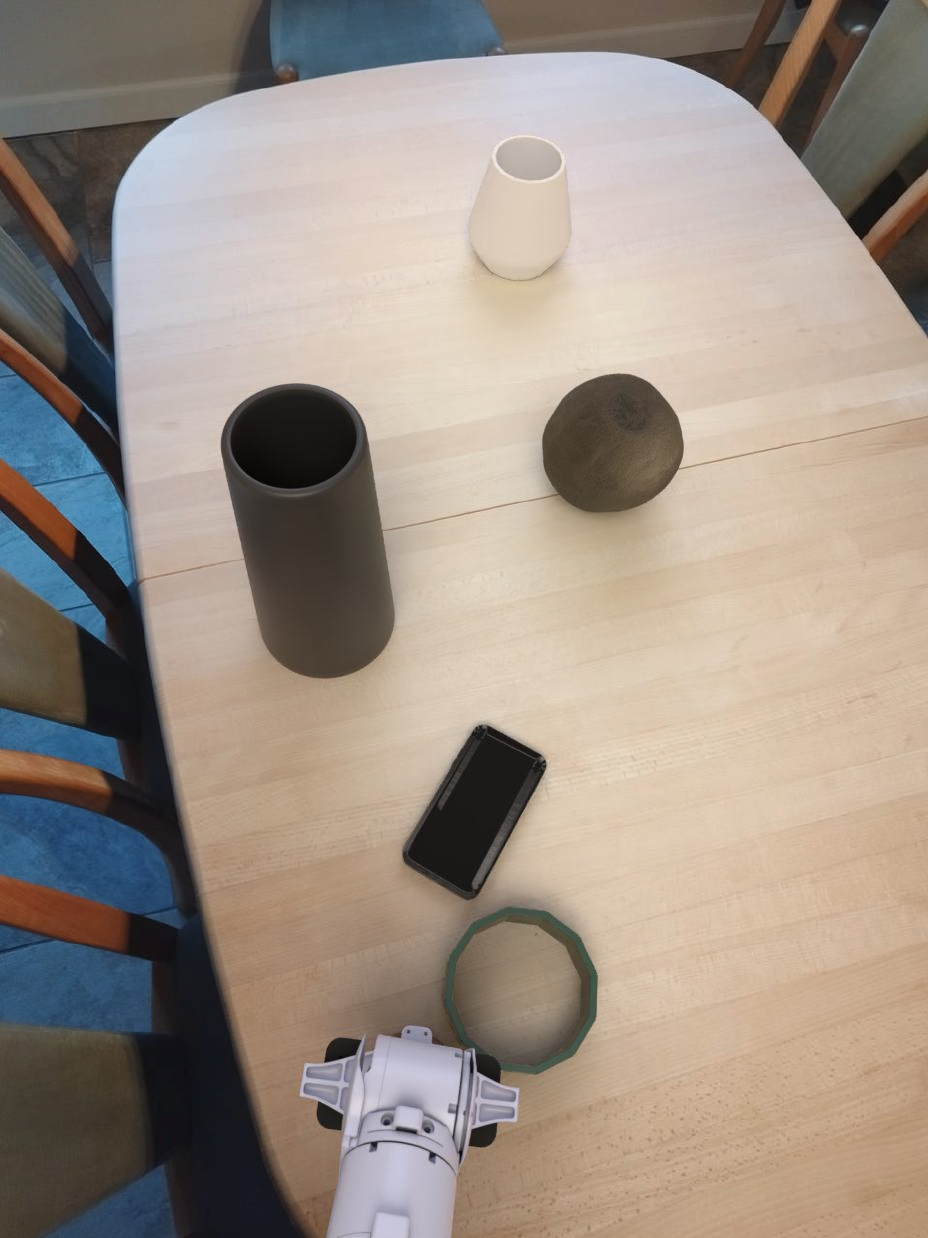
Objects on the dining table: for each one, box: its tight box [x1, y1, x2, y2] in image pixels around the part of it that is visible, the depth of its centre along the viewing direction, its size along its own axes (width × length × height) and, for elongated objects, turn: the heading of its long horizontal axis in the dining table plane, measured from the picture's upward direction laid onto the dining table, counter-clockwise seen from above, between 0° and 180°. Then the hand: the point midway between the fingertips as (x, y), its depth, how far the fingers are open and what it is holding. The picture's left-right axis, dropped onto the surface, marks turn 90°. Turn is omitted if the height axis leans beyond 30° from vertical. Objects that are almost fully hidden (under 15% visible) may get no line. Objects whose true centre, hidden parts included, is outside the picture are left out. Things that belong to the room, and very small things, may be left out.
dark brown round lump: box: [541, 372, 685, 514], centre depth 91 cm, size 14×14×15 cm
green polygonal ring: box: [442, 906, 599, 1076], centre depth 72 cm, size 12×12×4 cm
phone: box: [402, 724, 547, 901], centre depth 80 cm, size 8×1×15 cm
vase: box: [220, 382, 395, 679], centre depth 76 cm, size 14×14×29 cm
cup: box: [466, 134, 573, 282], centre depth 108 cm, size 13×13×14 cm
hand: (409, 1088), depth 66 cm, fingers open, 7 cm apart
